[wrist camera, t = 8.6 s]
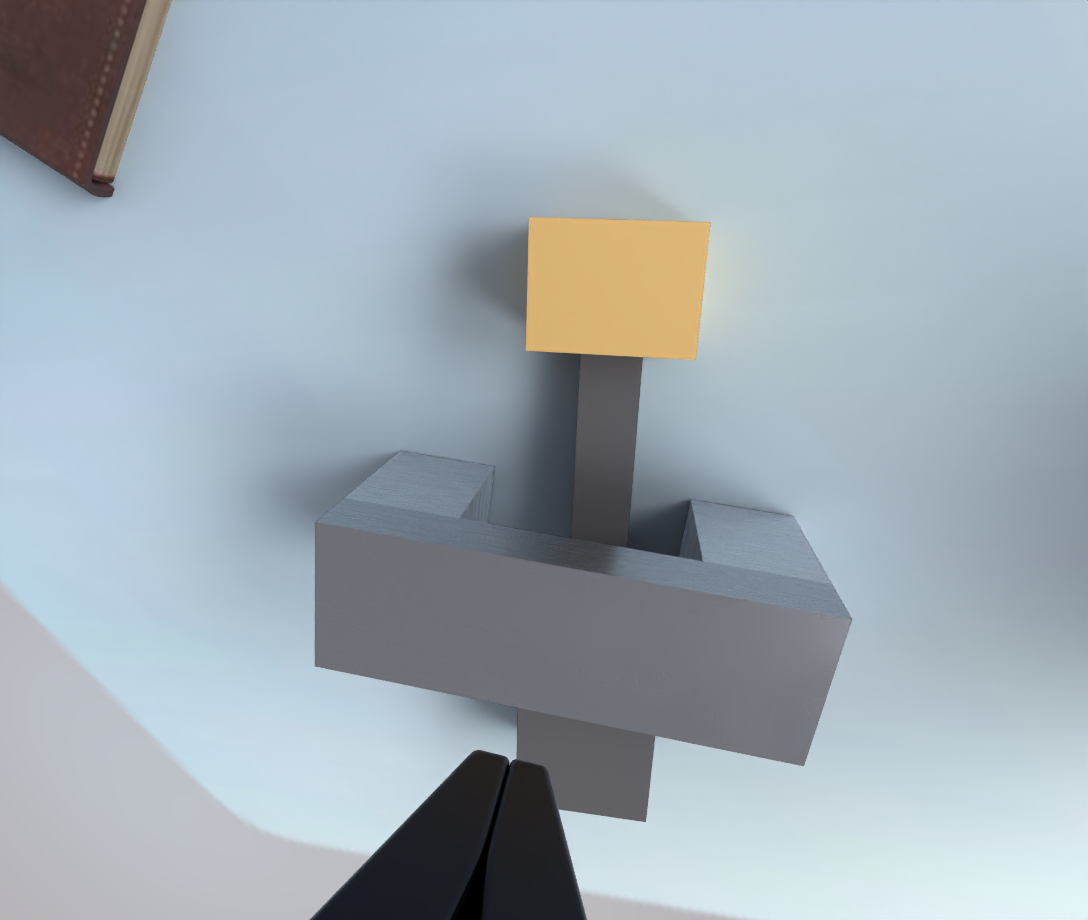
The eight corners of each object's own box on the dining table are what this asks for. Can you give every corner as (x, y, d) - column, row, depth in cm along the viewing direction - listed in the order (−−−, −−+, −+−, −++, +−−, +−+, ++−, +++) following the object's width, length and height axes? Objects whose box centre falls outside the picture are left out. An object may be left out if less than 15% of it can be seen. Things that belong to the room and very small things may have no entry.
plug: (698, 226, 17) (710, 222, 14) (645, 748, 22) (645, 822, 19) (547, 222, 17) (528, 216, 14) (531, 733, 23) (515, 803, 20)
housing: (793, 516, 19) (852, 619, 13) (761, 632, 20) (803, 765, 15) (400, 450, 20) (315, 521, 15) (394, 564, 21) (315, 666, 16)
